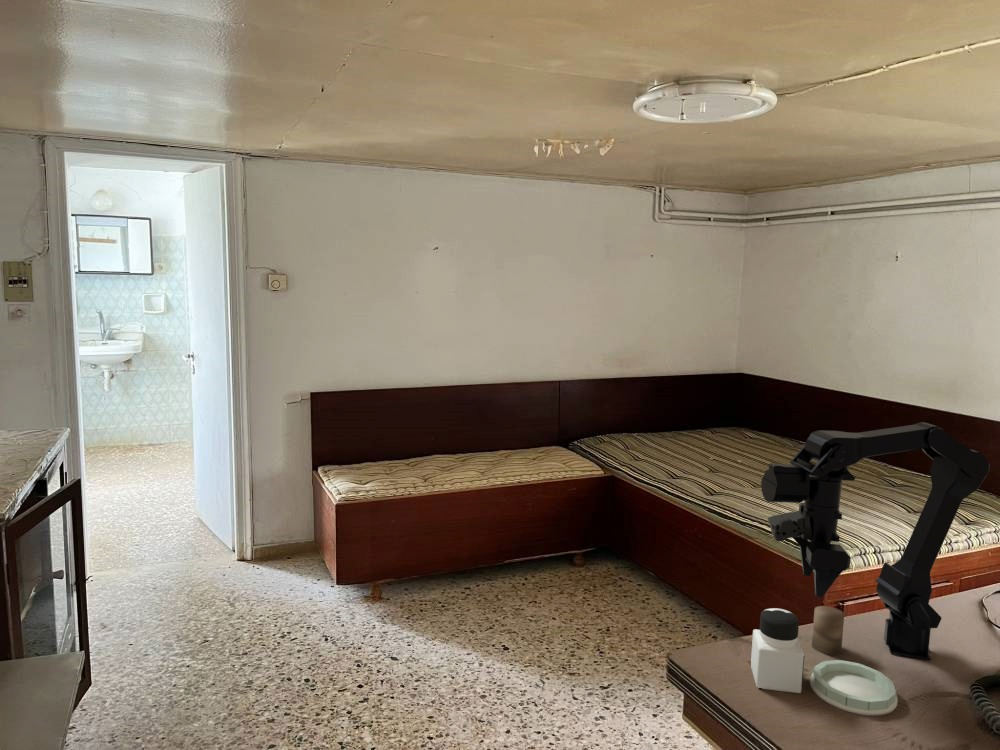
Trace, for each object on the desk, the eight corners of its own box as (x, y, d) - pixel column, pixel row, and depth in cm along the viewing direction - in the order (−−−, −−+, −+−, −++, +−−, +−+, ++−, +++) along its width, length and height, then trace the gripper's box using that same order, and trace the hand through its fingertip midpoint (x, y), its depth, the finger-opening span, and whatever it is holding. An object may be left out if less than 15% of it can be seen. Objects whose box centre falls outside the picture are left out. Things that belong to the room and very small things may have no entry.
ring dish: (890, 679, 121) (891, 667, 121) (903, 723, 109) (905, 710, 109) (808, 664, 126) (808, 653, 126) (812, 704, 114) (813, 692, 114)
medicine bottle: (802, 694, 117) (807, 625, 115) (756, 689, 118) (760, 621, 116) (793, 671, 124) (798, 606, 122) (750, 666, 125) (754, 602, 123)
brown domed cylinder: (840, 643, 133) (842, 608, 132) (842, 657, 128) (845, 620, 127) (811, 638, 135) (813, 604, 134) (812, 651, 130) (815, 615, 129)
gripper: (765, 483, 137) (757, 561, 139) (784, 514, 118) (775, 602, 121) (826, 489, 135) (818, 567, 137) (856, 521, 116) (845, 611, 118)
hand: (812, 585), depth 128 cm, fingers open, 9 cm apart
